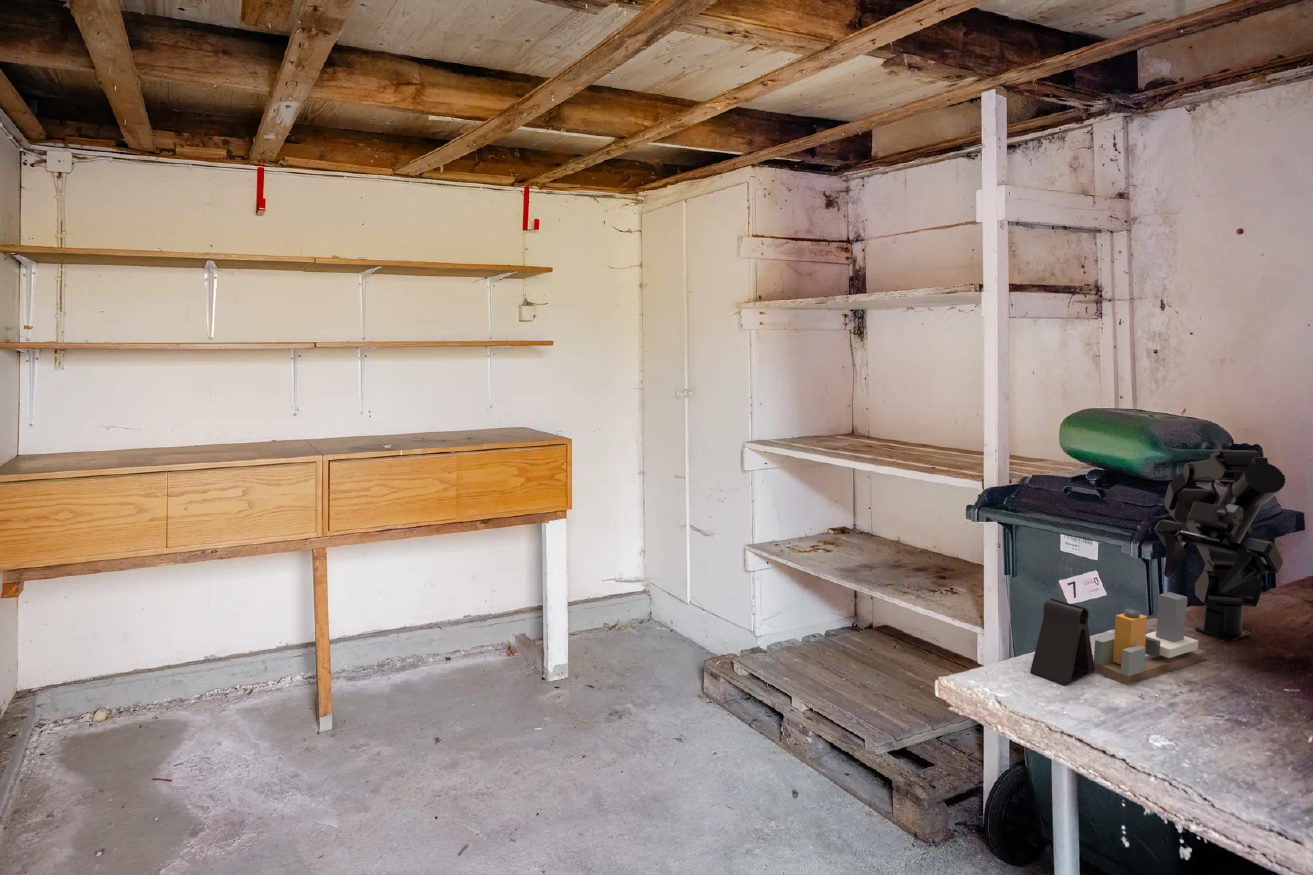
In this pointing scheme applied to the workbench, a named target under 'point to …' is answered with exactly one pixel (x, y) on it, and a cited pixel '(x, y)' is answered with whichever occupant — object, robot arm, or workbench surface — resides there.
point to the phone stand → (1063, 644)
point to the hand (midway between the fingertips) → (1192, 583)
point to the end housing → (1130, 656)
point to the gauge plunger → (1128, 632)
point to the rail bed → (1151, 666)
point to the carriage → (1170, 628)
